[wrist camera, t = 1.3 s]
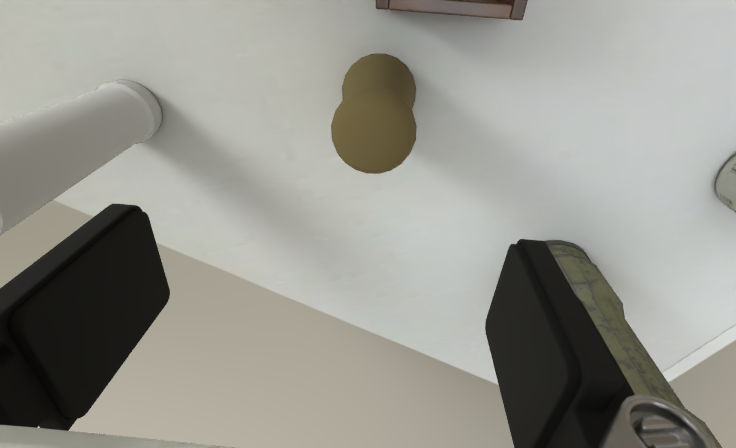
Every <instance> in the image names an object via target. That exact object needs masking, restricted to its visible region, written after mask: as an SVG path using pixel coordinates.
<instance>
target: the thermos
mask: <svg viewBox="0 0 736 448" xmlns="http://www.w3.org/2000/svg"><path fill="white" fill-rule="evenodd" d="M544 242H545V243H546V244H547V246H548V247H549V249H550V251H551V253H552V254H553V256H554V258H555V260H556V261H557V263H558V265H559V267H560V268H561V270H562V272H563V274H564V275H565V277H566V279H567V281H568V283H569V284H570V286H571V288H572V290H573V291H574V293H575V295H576V297H578V298H579V299H580V300H581V302H582V303H583V305H584V306H585V308H586V310H587V312H588V313H589V315H590V317H591V319H592V320H593V322H594V324H595V325H596V327H597V329H598V331H599V332H600V334H601V336H602V338H603V339H604V341H605V343H606V345H607V346H608V348H609V350H610V351H611V353H612V355H613V357H614V358H615V360H616V362H617V364H618V365H619V367H620V369H621V371H622V372H623V374H624V376H625V378H626V379H627V381H628V383H629V384H630V386H631V388H632V390H633V391H634V393H635V395H650V396H653V397H657V398H661V399H663V400H665V401H667V402H669V403H671V404H674V405H676V406H677V407H679V408H680V409H682V410H683V411H685V412H686V413H687V414H689V415H690V416H691V417H693V418H694V419H695V420H696V421H697V422H698V423H699V424H700V425H701V426H702V427H703V428H704V429H705V430H706V432H707V433H708V434H709V435H710V437H711V438H712V439H713V441H714V443H715V445H716V447H717V448H722V447H721V445H720V444H719V442H718V441H717V440H716V438H715V437H714V435H713V434H712V433H711V431H710V430H709V428H708V427H707V425H706V424H705V422H703V421H702V420H700V419H699V418H697V417H696V416H695V415H694V414H692V413H691V412H689V411H688V410H687V409H685V407H684V406H683V404H682V403H681V401H680V400H679V398H678V397H677V395H676V394H675V393H674V391H673V389H672V388H671V386H670V385H669V384H668V382H667V381H666V379H665V378H664V376H663V375H662V373H661V372H660V370H659V369H658V367H657V366H656V364H655V363H654V361H653V360H652V358H651V357H650V355H649V354H648V352H647V351H646V349H645V348H644V347H643V345H642V344H641V342H640V341H639V339H638V338H637V336H636V335H635V333H634V332H633V330H632V329H631V327H630V326H629V324H628V323H627V321H626V320H625V317H624V310H623V303H622V302H621V301H620V299H619V298H618V296H617V295H616V293H615V292H614V290H613V289H612V288H611V286H610V285H609V283H608V282H607V280H606V279H605V278H604V276H603V275H602V273H601V272H600V270H599V269H598V268H597V266H596V265H595V264H593V263H592V262H591V261H590V259H589V258H588V256H587V255H586V253H585V252H584V251H583V249H581V248H579V247H578V246H576V245H575V244H573V243H569V242H565V241H544Z"/></svg>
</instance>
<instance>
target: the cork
mask: <svg viewBox="0 0 736 448" xmlns="http://www.w3.org/2000/svg"><path fill="white" fill-rule="evenodd" d="M342 92H343V101H342V102H341V104H340V105H339V107H338V108H337V110H336V111H335V114H334V117H333V121H332V125H331V130H332V140H333V143H334V146H335V148H336V151H337V153H338V154H339V156H340V157H341V158H342V159H343V161H344V162H345V163H346V164H348V165H349V166H351V167H352V168H354V169H355V170H358V171H362V172H365V173H383V172H386V171H390V170H392V169H394V168H395V167H397V166H398V165H400V164H401V163H402V162H403V161H404V160H405V159H406V158H407V156H408V155H409V154H410V152H411V150H412V148H413V145H414V143H415V140H416V123H415V119H414V115H413V111H412V108H413V105H414V102H415V94H416V86H415V82H414V78H413V75H412V74H411V72H410V71H409V69H408V67H407V66H406V65H405V64H404V63H402V62H401V61H400V60H399V59H397V58H395V57H393V56H390V55H387V54H371V55H368V56H365V57H363V58H361V59H360V60H358V61H357V62H356V63H354V64H353V65H352V66H351V68H350V69H349V71H348V72H347V74H346V75H345V79H344V83H343V86H342Z"/></svg>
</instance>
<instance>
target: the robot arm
mask: <svg viewBox="0 0 736 448" xmlns="http://www.w3.org/2000/svg"><path fill="white" fill-rule="evenodd" d="M169 295H170V290H169V286H168V283H167V279H166V276H165V273H164V269H163V266H162V262H161V259H160V255H159V252H158V248H157V245H156V241H155V238H154V234H153V231H152V227H151V224H150V221H149V217H148V215H147V214H146V213H145V212H142V210H141V208H140V207H138V206H136V205H124V204H111V205H109V206H108V207H107V208H105V209H104V210H103V211H101V212H100V213H99V214H97V215H96V216H95V217H93V218H92V219H91V220H90V221H88V222H87V223H86V224H84V225H83V226H82V227H80V228H79V229H78V230H77V231H75V232H74V233H72V234H71V235H70V236H69V237H67V238H66V239H65V240H63V241H62V242H61V243H59V244H58V245H57V246H55V247H54V248H53V249H51V250H50V251H49V252H48V253H46V254H45V255H44V256H42V257H41V258H40V259H38V260H37V261H36V262H34V263H33V264H32V265H31V266H29V267H28V268H27V269H25V270H24V271H23V272H21V273H20V274H19V275H18V276H16V277H15V278H13V279H12V280H11V281H9V282H8V283H7V284H5V285H4V286H3V287H2V288H0V448H233V447H224V446H214V445H204V444H195V443H184V442H175V441H164V440H156V439H145V438H135V437H124V436H114V435H105V434H94V433H85V432H74V431H68V430H69V429H70V427H71V426H72V425H73V424H74V422H75V421H76V420H77V418H81V417H83V416H84V415H85V414H86V413H87V412H88V411H89V409H90V408H91V406H92V405H93V404H94V402H95V401H96V400H97V398H98V397H99V396H100V394H101V393H102V392H103V390H104V389H105V387H106V386H107V385H108V383H109V382H110V381H111V379H112V378H113V376H114V375H115V373H116V372H117V371H118V370H119V368H120V367H121V365H122V364H123V363H124V361H125V360H126V358H127V357H128V356H129V354H130V353H131V352H132V350H133V349H134V348H135V346H136V345H137V343H138V342H139V341H140V339H141V338H142V337H143V335H144V334H145V333H146V331H147V330H148V328H149V327H150V326H151V324H152V323H153V321H154V320H155V319H156V317H157V316H158V315H159V313H160V312H161V311H162V309H163V308H164V306H165V305H166V304H167V302H168V299H169ZM485 329H486V335H487V339H488V343H489V347H490V351H491V355H492V359H493V363H494V367H495V371H496V375H497V379H498V383H499V387H500V392H501V395H502V400H503V403H504V408H505V412H506V415H507V420H508V424H509V427H510V432H511V436H512V440H513V444H514V447H515V448H717V447H716V445H715V443H714V441H713V439H712V438H711V437H710V435H709V434H708V433H707V432H706V430H705V429H704V428H703V427H702V426H701V425H700V424H699V423H698V422H697V421H696V420H695V419H694V418H693V417H691V416H690V415H689V414H687V413H686V412H685V411H683V410H682V409H680V408H679V407H677V406H676V405H674V404H671V403H669V402H667V401H665V400H663V399H661V398H657V397H653V396H650V395H635V393H634V391H633V390H632V388H631V386H630V384H629V383H628V381H627V379H626V378H625V376H624V374H623V372H622V371H621V369H620V367H619V365H618V364H617V362H616V360H615V358H614V357H613V355H612V353H611V351H610V350H609V348H608V346H607V345H606V343H605V341H604V339H603V338H602V336H601V334H600V332H599V331H598V329H597V327H596V325H595V324H594V322H593V320H592V319H591V317H590V315H589V313H588V312H587V310H586V308H585V306H584V305H583V303H582V302H581V300H580V299H579V298H578V297H576V295H575V293H574V291H573V290H572V288H571V286H570V284H569V283H568V281H567V279H566V277H565V275H564V274H563V272H562V270H561V268H560V267H559V265H558V263H557V261H556V260H555V258H554V256H553V254H552V253H551V251H550V249H549V247H548V246H547V244H546V243H545V242H544V241H537V240H525V239H520V240H519V241H518V242H517V244H511V245H510V247H509V249H508V252H507V255H506V258H505V262H504V265H503V268H502V271H501V274H500V277H499V281H498V284H497V287H496V290H495V293H494V296H493V300H492V303H491V306H490V309H489V312H488V315H487V319H486V326H485ZM38 426H39V427H40V428H37V427H38Z"/></svg>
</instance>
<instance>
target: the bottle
mask: <svg viewBox="0 0 736 448" xmlns="http://www.w3.org/2000/svg"><path fill="white" fill-rule="evenodd" d="M161 121H162V112H161V108H160V106H159V104H158V101H157V99H156V98H155V97H154V96H153V95H152V94H151V92H150V91H149V90H148V89H146V88H145V87H143V86H141V85H140V84H138V83H135V82H131V81H127V80H117V81H112V82H107V83H103V84H101V85H99V86H98V87H97V88H96V89H95V90H94V91H93V92H90V93H87V94H84V95H81V96H78V97H75V98H72V99H69V100H66V101H63V102H60V103H57V104H54V105H51V106H48V107H45V108H42V109H39V110H36V111H33V112H30V113H27V114H25V115H22V116H19V117H16V118H13V119H10V120H7V121H4V122H1V123H0V236H1V235H2V234H3V233H5V232H6V231H8V230H9V229H10V228H12V227H14V226H15V225H17V224H18V223H19V222H21V221H22V220H24V219H25V218H27V217H28V216H30V215H31V214H33V213H34V212H36V211H37V210H39V209H40V208H41V207H43V206H44V205H46V204H47V203H49V202H50V201H52V200H53V199H55V198H56V197H58V196H59V195H61V194H62V193H63V192H65V191H66V190H68V189H69V188H71V187H72V186H74V185H75V184H77V183H78V182H80V181H81V180H82V179H84V178H85V177H87V176H88V175H90V174H91V173H93V172H94V171H96V170H97V169H99V168H100V167H102V166H103V165H104V164H106V163H107V162H109V161H110V160H112V159H113V158H115V157H116V156H118V155H119V154H121V153H122V152H123V151H125V150H126V149H128V148H129V147H131V146H132V145H134V144H138V143H143V142H145V141H146V140H147V139H149V138H150V137H151V136H153V135H154V134H155V133H156V132H157V131H158V129H159V127H160V124H161Z"/></svg>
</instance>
